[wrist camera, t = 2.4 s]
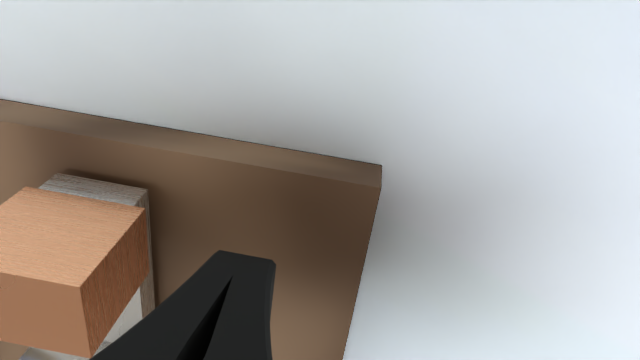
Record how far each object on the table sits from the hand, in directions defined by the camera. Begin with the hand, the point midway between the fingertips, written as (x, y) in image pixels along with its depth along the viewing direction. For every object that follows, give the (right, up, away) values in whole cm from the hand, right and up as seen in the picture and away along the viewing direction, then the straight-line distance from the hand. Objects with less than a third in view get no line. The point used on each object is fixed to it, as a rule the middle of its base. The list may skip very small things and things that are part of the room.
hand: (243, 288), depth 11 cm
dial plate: (-5, -3, +4) cm, 7 cm away
